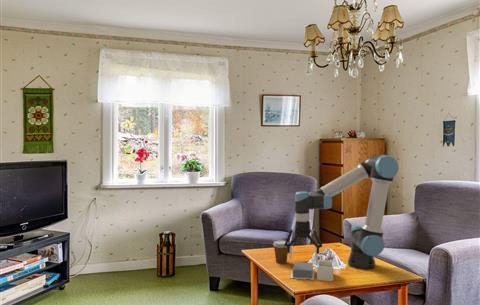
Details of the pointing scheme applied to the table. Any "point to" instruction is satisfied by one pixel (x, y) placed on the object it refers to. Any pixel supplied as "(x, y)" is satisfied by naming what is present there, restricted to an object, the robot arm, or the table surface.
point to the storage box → (325, 270)
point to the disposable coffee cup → (280, 251)
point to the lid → (302, 270)
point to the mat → (301, 277)
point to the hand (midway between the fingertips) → (303, 259)
